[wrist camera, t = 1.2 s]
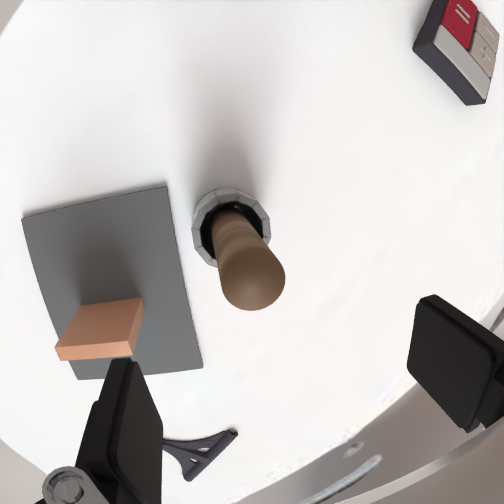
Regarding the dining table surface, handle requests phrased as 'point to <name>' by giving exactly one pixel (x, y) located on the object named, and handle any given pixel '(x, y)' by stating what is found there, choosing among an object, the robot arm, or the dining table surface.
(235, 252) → the rod
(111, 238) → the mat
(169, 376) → the dining table surface
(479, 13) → the calculator
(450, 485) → the robot arm
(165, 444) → the bracket
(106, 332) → the tile
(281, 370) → the dining table surface
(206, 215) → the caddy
